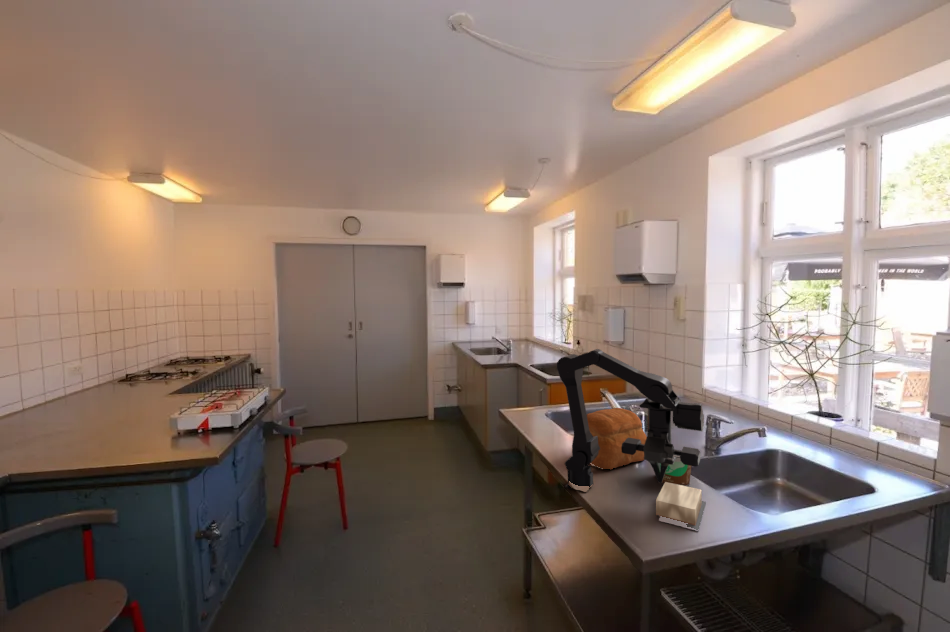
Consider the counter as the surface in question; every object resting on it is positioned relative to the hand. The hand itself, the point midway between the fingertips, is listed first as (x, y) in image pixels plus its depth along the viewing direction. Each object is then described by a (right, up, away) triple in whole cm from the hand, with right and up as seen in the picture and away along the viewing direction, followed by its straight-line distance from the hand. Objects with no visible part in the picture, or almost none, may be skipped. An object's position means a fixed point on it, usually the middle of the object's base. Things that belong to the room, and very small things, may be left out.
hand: (660, 482), depth 112 cm
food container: (+9, -6, +14) cm, 17 cm away
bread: (-2, -5, +33) cm, 33 cm away
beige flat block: (0, -4, 0) cm, 4 cm away
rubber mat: (+5, -7, -3) cm, 9 cm away
